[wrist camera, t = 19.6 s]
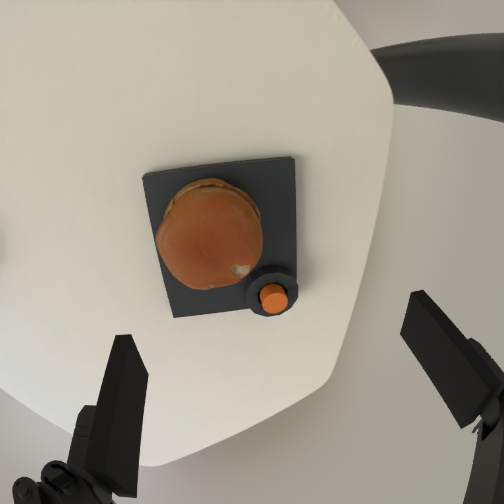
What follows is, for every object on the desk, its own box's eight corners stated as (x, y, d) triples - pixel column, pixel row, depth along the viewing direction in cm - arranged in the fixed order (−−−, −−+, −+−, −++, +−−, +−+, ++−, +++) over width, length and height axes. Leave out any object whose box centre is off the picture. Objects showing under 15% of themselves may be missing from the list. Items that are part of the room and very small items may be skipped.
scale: (290, 156, 29) (299, 162, 26) (293, 296, 36) (300, 311, 34) (144, 173, 27) (138, 181, 25) (174, 312, 35) (173, 329, 32)
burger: (181, 163, 26) (177, 175, 22) (275, 200, 29) (287, 217, 25) (148, 256, 30) (140, 281, 26) (233, 283, 33) (238, 311, 29)
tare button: (283, 281, 32) (288, 291, 30) (284, 301, 33) (288, 311, 31) (258, 285, 32) (261, 294, 30) (260, 305, 33) (263, 315, 31)
